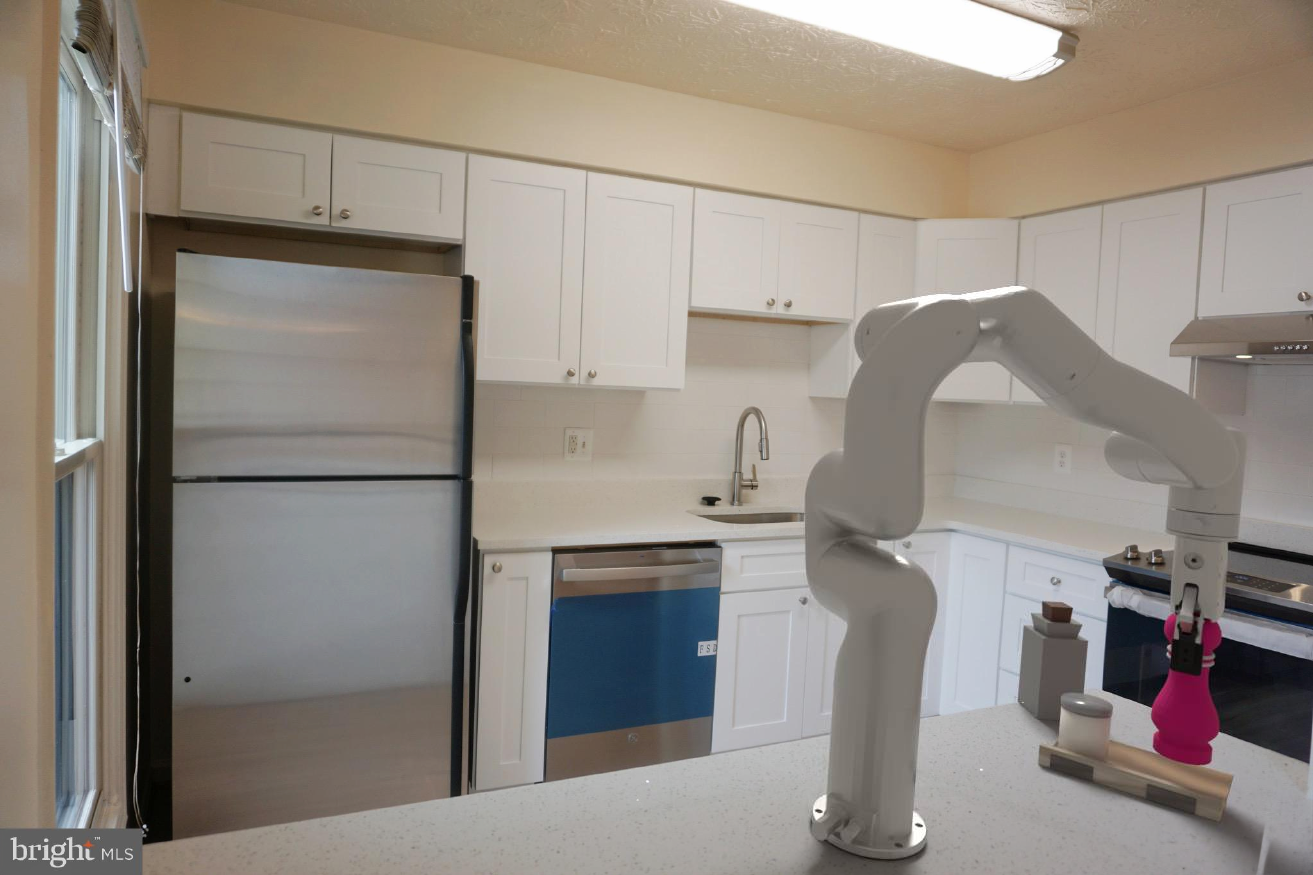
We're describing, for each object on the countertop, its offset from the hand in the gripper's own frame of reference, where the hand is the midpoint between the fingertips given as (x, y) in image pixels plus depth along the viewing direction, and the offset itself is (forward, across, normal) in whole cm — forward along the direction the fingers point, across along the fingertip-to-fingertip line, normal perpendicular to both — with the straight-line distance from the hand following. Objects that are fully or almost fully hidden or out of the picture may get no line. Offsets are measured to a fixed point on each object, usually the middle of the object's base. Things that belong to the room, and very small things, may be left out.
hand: (1189, 664), depth 100 cm
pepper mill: (+12, 0, 0) cm, 12 cm away
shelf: (+17, +2, +5) cm, 18 cm away
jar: (+16, 0, +11) cm, 19 cm away
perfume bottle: (+17, +15, +19) cm, 30 cm away
